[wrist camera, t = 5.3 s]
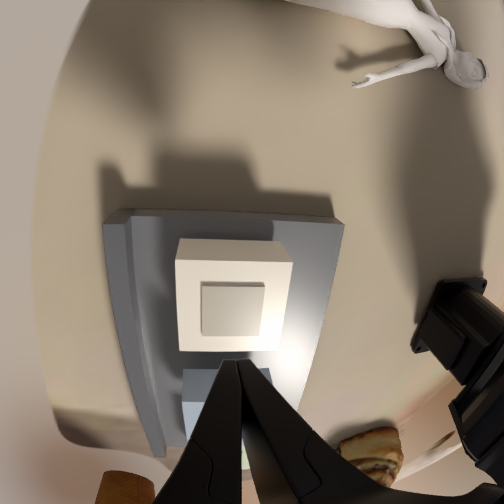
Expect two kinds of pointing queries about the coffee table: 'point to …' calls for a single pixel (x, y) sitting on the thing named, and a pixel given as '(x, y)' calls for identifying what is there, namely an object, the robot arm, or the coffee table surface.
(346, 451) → the pastry
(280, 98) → the coffee table surface
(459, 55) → the woman figurine
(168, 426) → the keypad
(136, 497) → the disposable coffee cup
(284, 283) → the key ivory
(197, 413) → the key blue
